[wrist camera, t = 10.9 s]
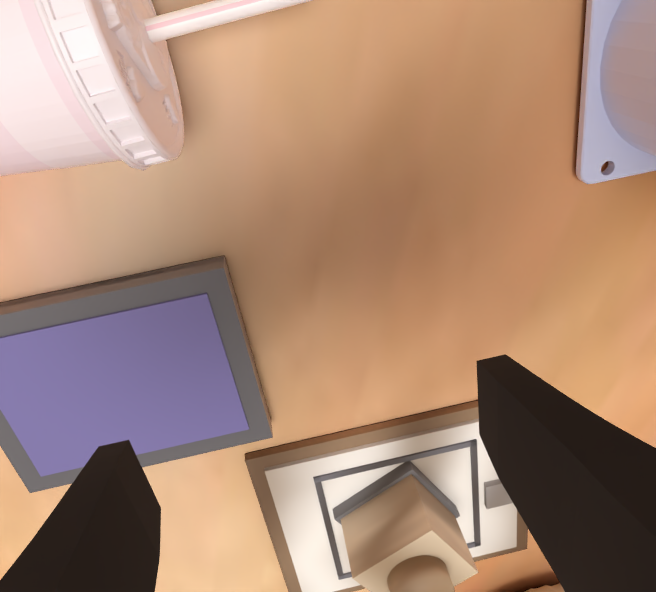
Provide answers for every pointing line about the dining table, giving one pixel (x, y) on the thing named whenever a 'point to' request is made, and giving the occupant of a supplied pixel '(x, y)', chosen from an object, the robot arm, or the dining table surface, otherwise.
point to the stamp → (404, 535)
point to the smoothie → (97, 79)
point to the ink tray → (127, 372)
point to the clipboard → (362, 470)
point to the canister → (548, 589)
